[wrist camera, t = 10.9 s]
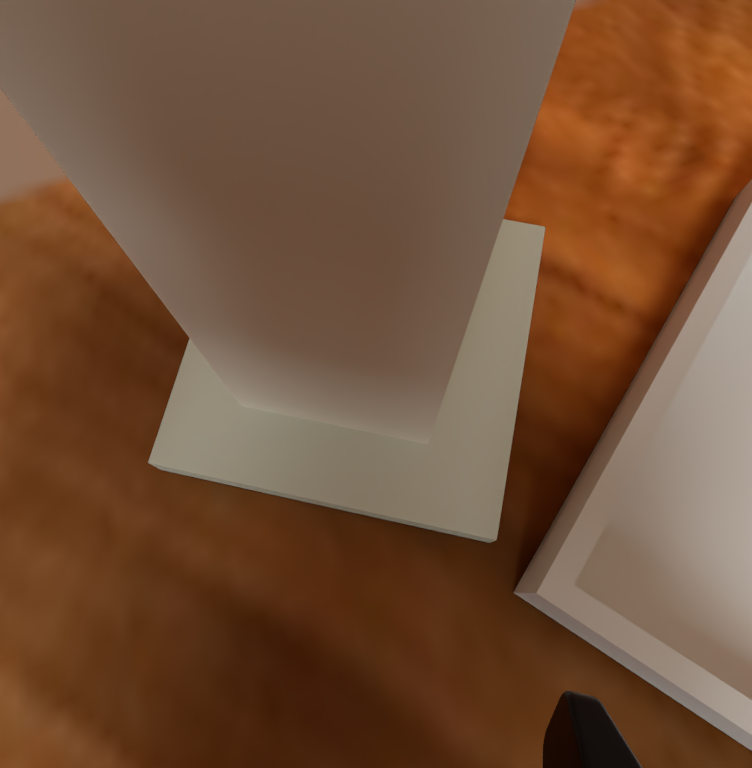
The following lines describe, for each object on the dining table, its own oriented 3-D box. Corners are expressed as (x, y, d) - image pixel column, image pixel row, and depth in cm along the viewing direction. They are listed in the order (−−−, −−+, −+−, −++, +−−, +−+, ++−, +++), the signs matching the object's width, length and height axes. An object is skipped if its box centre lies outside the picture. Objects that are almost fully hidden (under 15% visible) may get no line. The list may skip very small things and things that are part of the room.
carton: (427, 444, 16) (582, -17, 4) (240, 405, 17) (-167, -132, 4) (461, 269, 18) (648, -461, 5) (289, 237, 18) (98, -517, 6)
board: (489, 542, 16) (496, 540, 15) (160, 469, 17) (147, 462, 16) (537, 244, 19) (545, 226, 18) (251, 191, 20) (245, 171, 19)
